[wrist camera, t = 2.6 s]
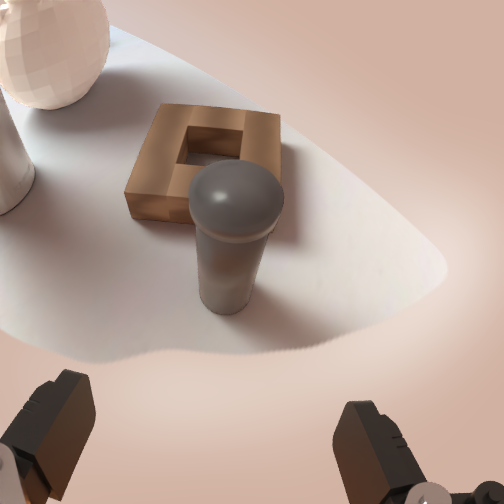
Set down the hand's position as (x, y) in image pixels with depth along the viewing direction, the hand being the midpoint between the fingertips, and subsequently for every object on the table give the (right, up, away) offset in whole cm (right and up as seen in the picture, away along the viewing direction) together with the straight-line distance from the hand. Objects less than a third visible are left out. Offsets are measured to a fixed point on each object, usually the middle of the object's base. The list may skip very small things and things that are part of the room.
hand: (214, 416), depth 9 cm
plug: (-1, +2, +19) cm, 19 cm away
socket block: (-3, +14, +26) cm, 29 cm away
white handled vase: (-29, +30, +32) cm, 53 cm away
